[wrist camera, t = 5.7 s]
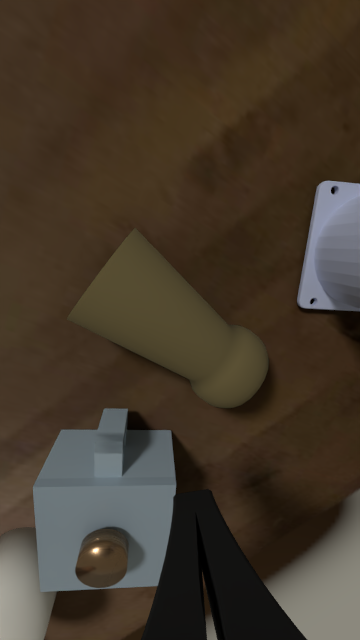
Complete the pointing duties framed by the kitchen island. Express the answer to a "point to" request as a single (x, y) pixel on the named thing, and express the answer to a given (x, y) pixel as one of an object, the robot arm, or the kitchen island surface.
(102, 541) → the plunger
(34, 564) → the white pillar candle
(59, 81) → the kitchen island surface
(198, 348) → the cork
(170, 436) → the blue box with knob
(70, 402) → the kitchen island surface
